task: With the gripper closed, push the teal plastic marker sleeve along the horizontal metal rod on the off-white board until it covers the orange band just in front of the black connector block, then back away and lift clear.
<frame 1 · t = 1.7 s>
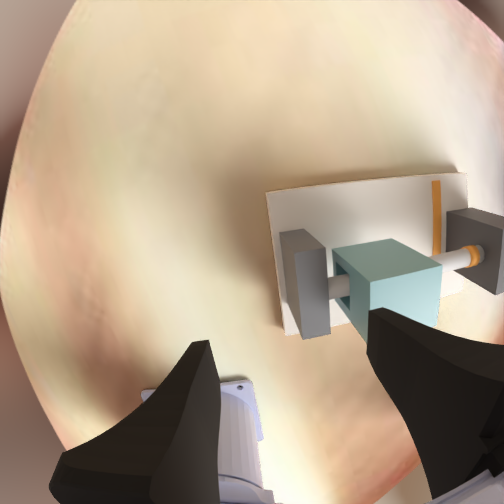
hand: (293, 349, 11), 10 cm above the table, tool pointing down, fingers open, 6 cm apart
sliding block rail: (382, 247, 21), on the table
marker sleeve: (383, 285, 15), point 6 cm above the table, slide at 0.0 cm
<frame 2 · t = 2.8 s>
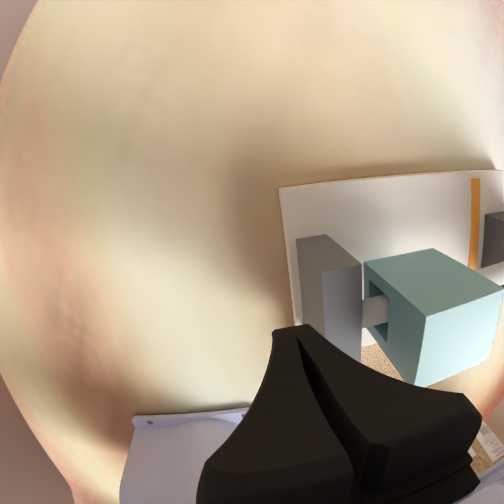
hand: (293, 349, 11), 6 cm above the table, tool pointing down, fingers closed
sprinkles bottle: (451, 414, 23), on the table
sliding block rail: (414, 255, 17), on the table
marker sleeve: (427, 310, 11), point 6 cm above the table, slide at 0.0 cm
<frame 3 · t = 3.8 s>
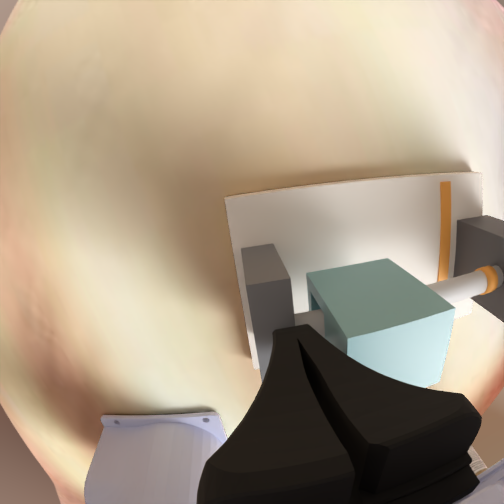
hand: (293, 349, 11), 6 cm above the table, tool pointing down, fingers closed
sliding block rail: (376, 263, 17), on the table
marker sleeve: (372, 326, 11), point 6 cm above the table, slide at 0.0 cm, touching gripper
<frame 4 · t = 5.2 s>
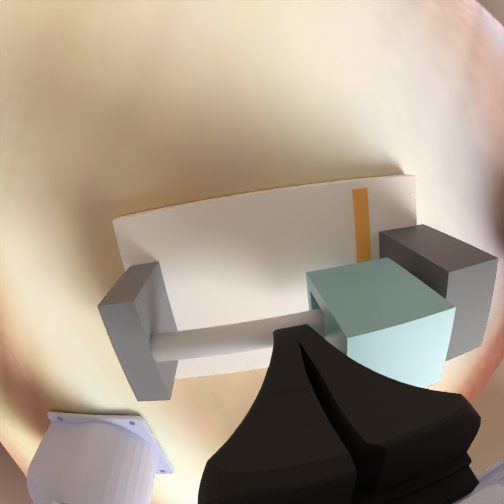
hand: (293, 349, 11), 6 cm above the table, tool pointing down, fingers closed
sliding block rail: (280, 280, 17), on the table
marker sleeve: (372, 325, 11), point 6 cm above the table, slide at 5.8 cm, touching gripper
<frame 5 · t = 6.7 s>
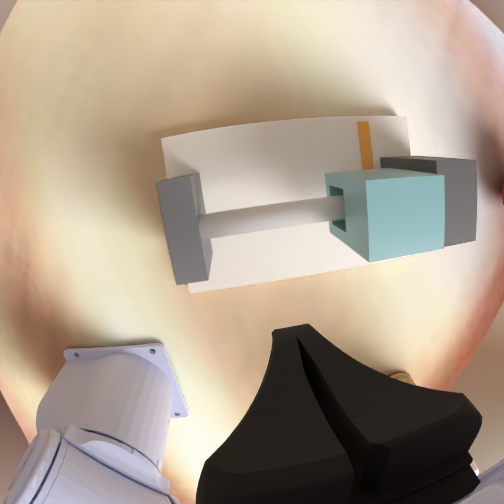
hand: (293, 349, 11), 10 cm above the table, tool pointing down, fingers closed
sliding block rail: (300, 197, 20), on the table
onion: (501, 190, 21), on the table
marker sleeve: (381, 206, 14), point 6 cm above the table, slide at 5.8 cm
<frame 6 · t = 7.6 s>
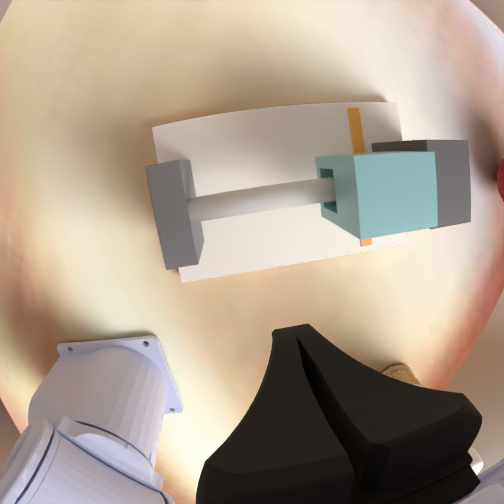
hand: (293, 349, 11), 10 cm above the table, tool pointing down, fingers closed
sprinkles bottle: (390, 380, 26), on the table
sliding block rail: (291, 184, 19), on the table
onion: (497, 178, 21), on the table
marker sleeve: (372, 187, 14), point 6 cm above the table, slide at 5.8 cm
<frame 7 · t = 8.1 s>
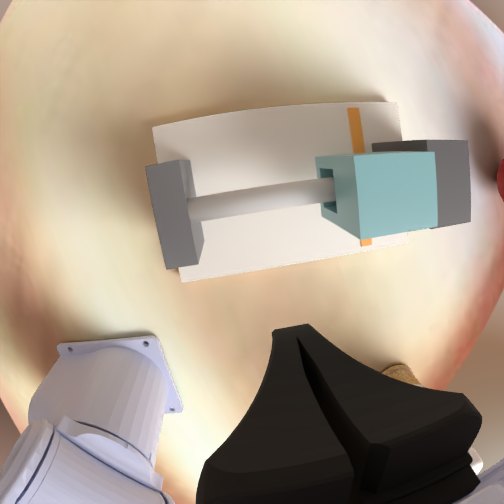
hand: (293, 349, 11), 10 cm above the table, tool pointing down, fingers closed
sprinkles bottle: (390, 380, 26), on the table
sliding block rail: (291, 184, 19), on the table
onion: (497, 178, 21), on the table
marker sleeve: (372, 187, 14), point 6 cm above the table, slide at 5.8 cm
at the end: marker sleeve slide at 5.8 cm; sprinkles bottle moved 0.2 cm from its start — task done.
